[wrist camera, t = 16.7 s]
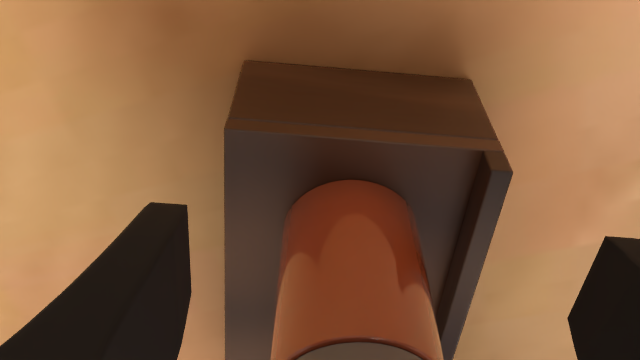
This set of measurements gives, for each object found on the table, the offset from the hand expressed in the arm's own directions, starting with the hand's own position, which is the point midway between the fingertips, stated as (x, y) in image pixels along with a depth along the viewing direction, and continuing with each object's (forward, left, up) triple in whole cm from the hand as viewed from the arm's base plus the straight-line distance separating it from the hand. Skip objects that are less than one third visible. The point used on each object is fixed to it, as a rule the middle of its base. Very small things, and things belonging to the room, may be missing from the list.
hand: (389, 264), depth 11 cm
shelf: (-9, 0, -10) cm, 13 cm away
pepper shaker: (-4, 0, -6) cm, 7 cm away
